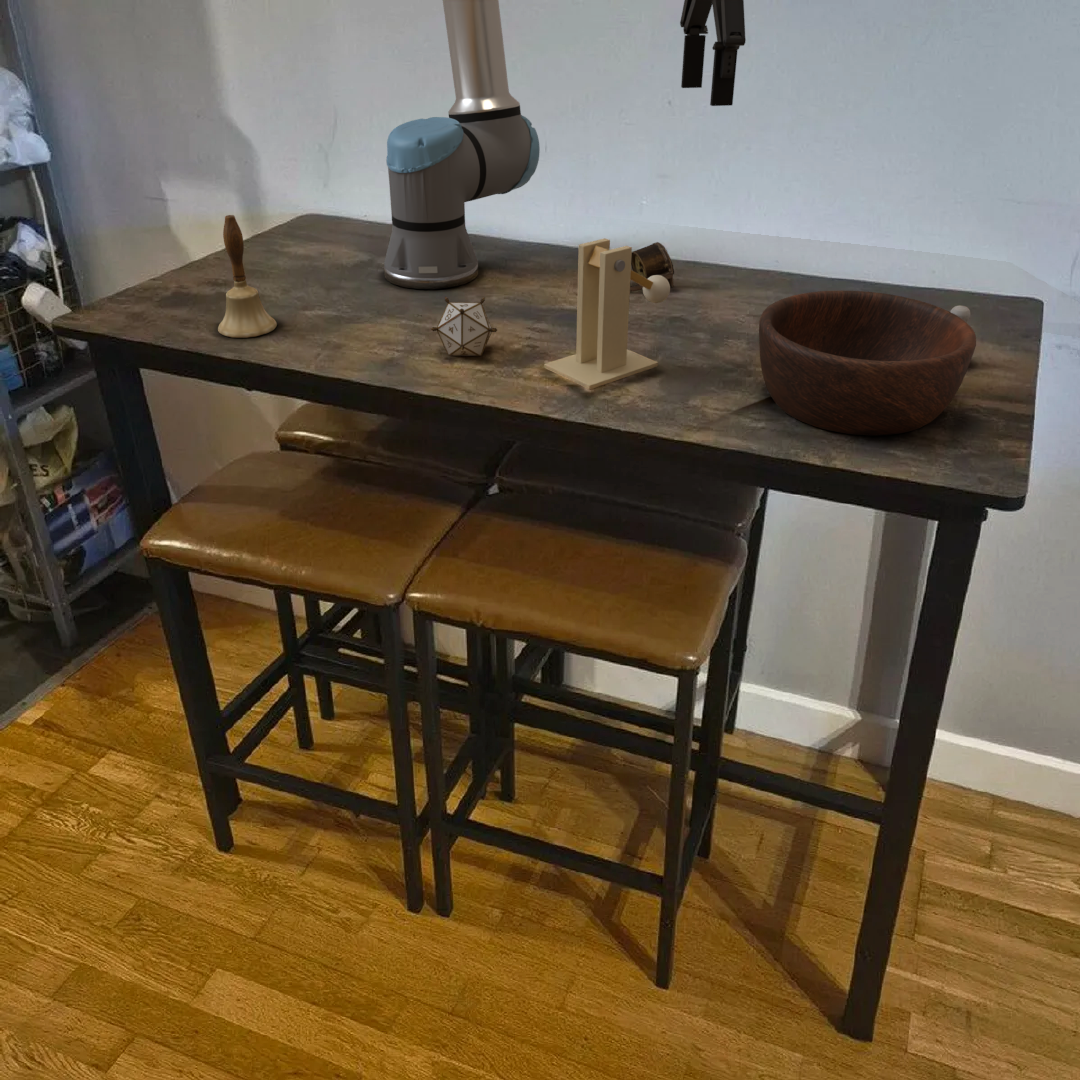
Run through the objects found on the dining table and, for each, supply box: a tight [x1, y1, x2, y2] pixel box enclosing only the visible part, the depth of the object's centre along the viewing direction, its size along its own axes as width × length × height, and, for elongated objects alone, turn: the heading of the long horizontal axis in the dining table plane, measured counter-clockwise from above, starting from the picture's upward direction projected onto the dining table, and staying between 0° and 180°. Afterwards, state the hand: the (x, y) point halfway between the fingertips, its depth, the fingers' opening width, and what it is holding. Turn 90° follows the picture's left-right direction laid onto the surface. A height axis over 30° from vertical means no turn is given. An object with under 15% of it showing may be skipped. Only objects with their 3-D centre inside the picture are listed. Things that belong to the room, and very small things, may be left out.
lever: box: [588, 246, 671, 304], centre depth 136 cm, size 14×4×4 cm
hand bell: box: [217, 214, 278, 339], centre depth 149 cm, size 8×8×16 cm
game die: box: [430, 296, 498, 357], centre depth 142 cm, size 9×8×10 cm
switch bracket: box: [543, 238, 659, 391], centre depth 135 cm, size 12×9×17 cm
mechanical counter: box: [630, 241, 675, 293], centre depth 166 cm, size 7×13×10 cm
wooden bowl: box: [758, 289, 977, 437], centre depth 129 cm, size 25×25×10 cm
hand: (705, 96), depth 141 cm, fingers open, 13 cm apart
